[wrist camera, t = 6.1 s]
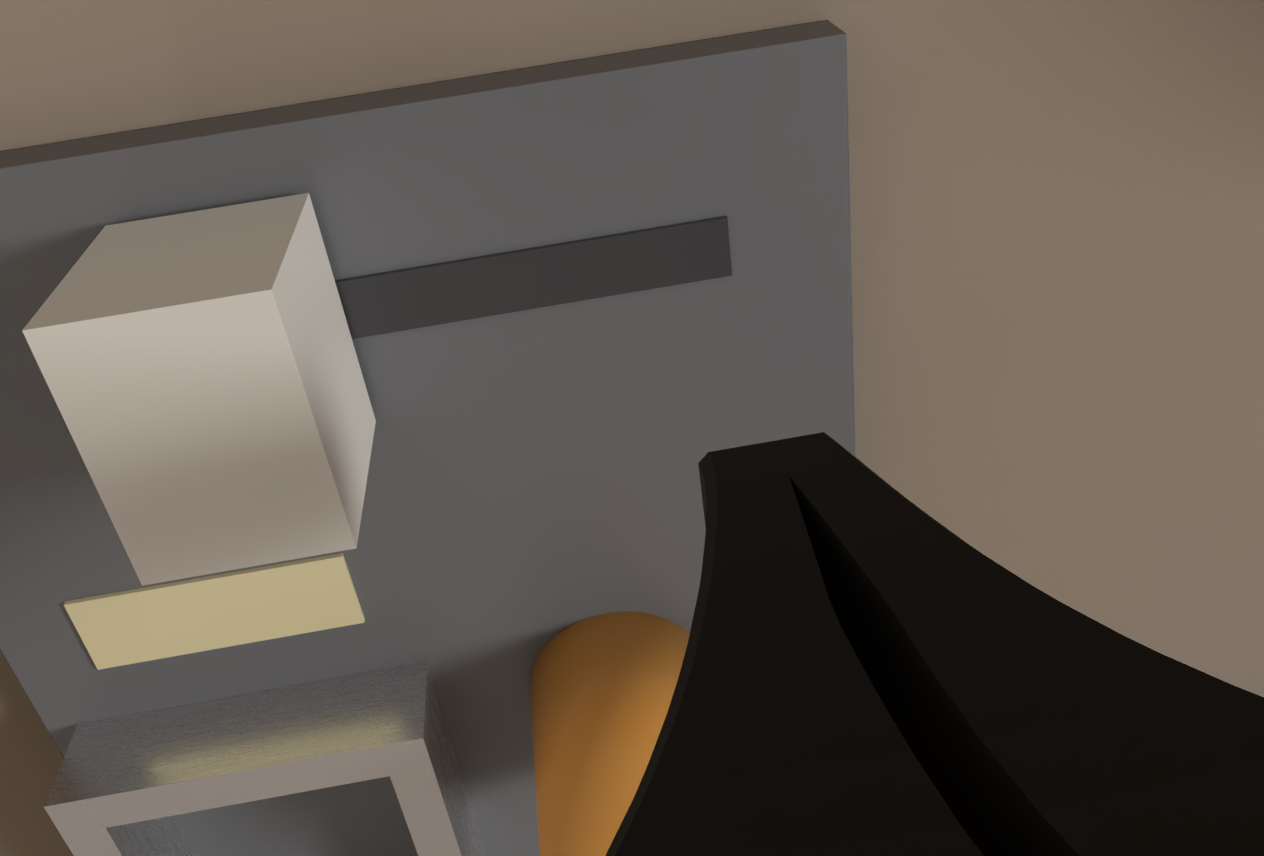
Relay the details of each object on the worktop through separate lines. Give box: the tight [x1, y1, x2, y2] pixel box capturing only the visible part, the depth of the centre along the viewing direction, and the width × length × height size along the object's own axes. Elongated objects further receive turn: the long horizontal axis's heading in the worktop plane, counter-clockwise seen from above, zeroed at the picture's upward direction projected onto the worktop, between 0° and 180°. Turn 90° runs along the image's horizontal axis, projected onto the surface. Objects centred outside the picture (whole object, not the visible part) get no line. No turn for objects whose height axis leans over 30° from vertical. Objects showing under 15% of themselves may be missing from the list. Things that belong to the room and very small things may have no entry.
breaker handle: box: [22, 193, 376, 586], centre depth 16 cm, size 3×4×4 cm
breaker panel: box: [0, 20, 855, 856], centre depth 21 cm, size 16×18×2 cm
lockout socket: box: [44, 661, 487, 856], centre depth 22 cm, size 7×7×2 cm
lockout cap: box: [530, 611, 690, 856], centre depth 20 cm, size 4×4×5 cm
